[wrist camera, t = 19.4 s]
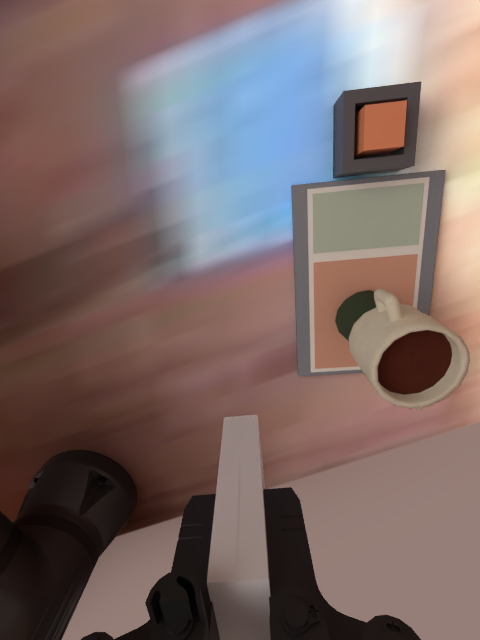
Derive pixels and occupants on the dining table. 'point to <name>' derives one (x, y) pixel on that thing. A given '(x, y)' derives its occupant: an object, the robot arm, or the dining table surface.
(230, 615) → the robot arm
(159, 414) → the dining table surface
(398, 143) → the button cap
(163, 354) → the dining table surface
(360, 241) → the picture board
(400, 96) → the button housing
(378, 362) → the character mug
